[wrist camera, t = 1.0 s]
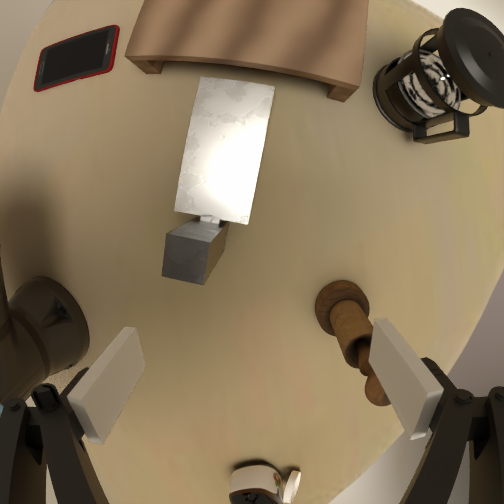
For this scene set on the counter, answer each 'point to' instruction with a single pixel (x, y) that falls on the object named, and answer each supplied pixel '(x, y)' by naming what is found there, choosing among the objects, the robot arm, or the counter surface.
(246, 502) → the spread jar
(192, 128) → the scraper
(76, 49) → the cell phone
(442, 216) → the counter surface
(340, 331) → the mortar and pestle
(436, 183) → the counter surface
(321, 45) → the low bench
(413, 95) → the french press
